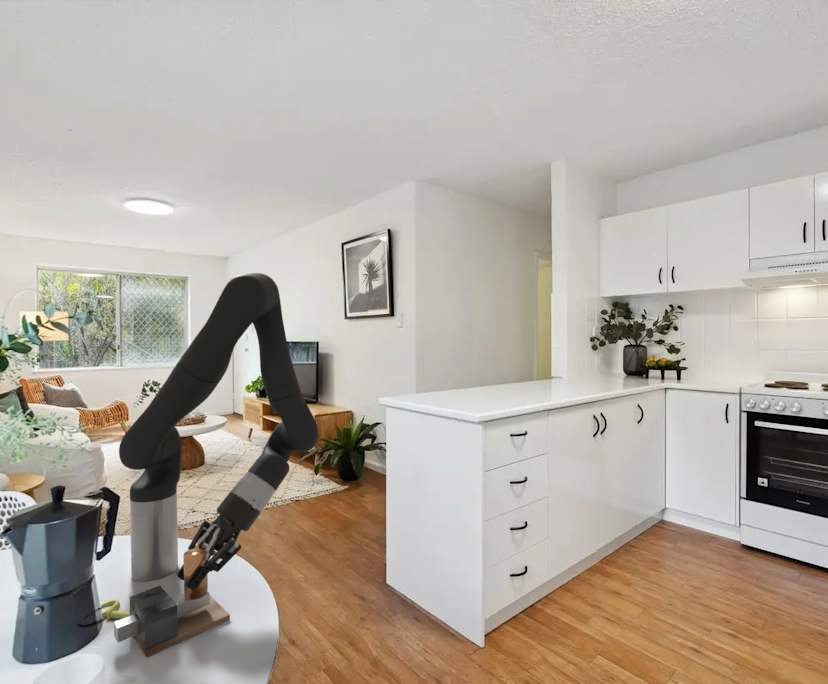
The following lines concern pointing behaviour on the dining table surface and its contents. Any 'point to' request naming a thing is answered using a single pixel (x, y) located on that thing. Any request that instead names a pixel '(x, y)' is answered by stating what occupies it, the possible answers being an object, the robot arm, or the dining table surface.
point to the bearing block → (154, 616)
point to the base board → (192, 626)
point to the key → (113, 610)
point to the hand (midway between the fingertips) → (185, 582)
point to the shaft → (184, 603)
